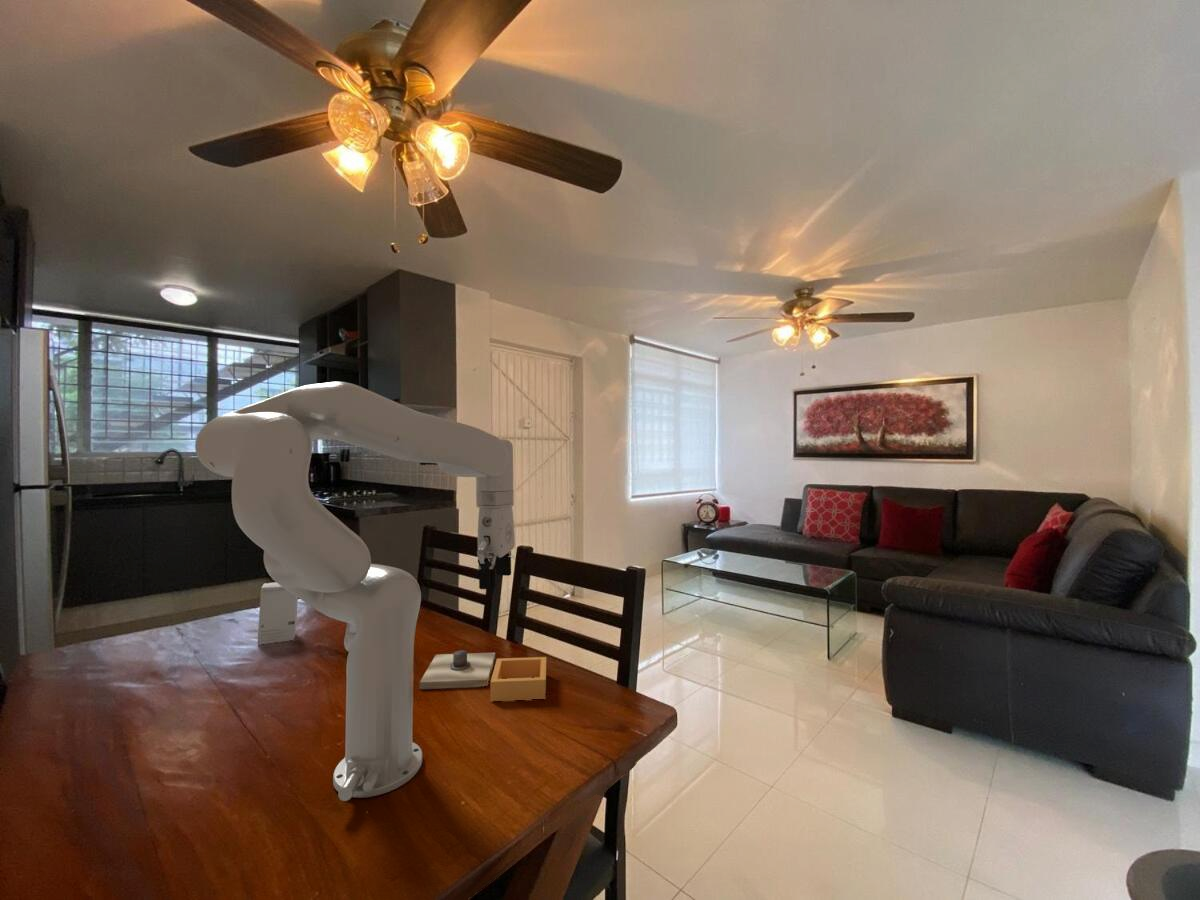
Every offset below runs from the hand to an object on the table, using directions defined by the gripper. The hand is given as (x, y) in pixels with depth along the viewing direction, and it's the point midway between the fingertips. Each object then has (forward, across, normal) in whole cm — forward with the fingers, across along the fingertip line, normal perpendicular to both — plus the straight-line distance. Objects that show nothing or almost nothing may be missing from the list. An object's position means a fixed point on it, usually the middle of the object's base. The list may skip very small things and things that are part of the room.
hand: (496, 581), depth 97 cm
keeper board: (+24, +8, +12) cm, 27 cm away
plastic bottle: (+24, +17, +42) cm, 51 cm away
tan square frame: (+24, +3, -4) cm, 24 cm away
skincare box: (+23, +20, +68) cm, 74 cm away
